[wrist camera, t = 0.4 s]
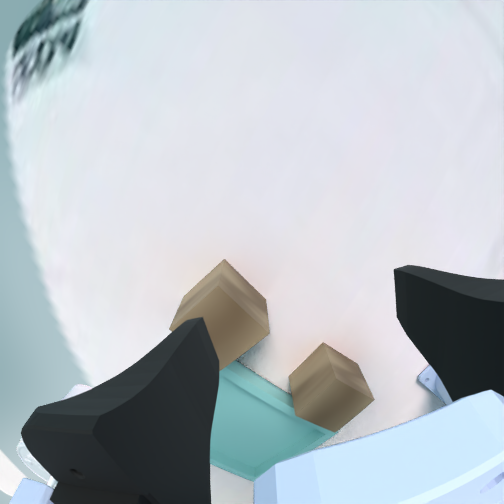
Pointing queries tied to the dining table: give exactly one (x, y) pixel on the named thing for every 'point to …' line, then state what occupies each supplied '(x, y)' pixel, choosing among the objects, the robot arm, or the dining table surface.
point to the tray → (257, 425)
